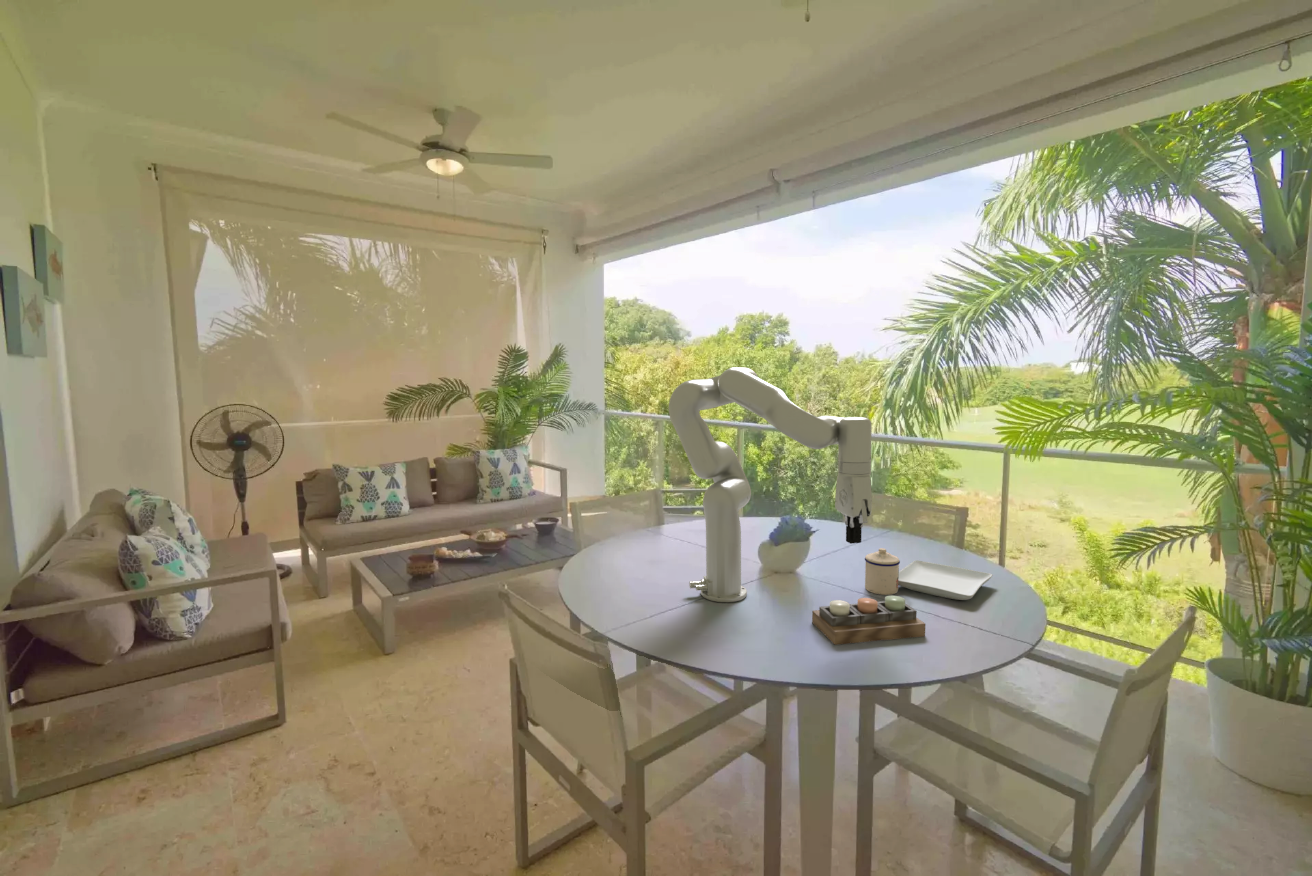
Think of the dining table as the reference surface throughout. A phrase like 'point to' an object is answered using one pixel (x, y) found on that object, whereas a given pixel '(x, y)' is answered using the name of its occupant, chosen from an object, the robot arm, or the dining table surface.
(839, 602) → the cream button
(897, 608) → the sage button
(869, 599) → the terracotta button
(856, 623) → the button console
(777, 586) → the dining table surface
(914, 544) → the dining table surface
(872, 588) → the teacup with lid
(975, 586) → the salad plate
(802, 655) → the dining table surface
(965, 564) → the dining table surface
